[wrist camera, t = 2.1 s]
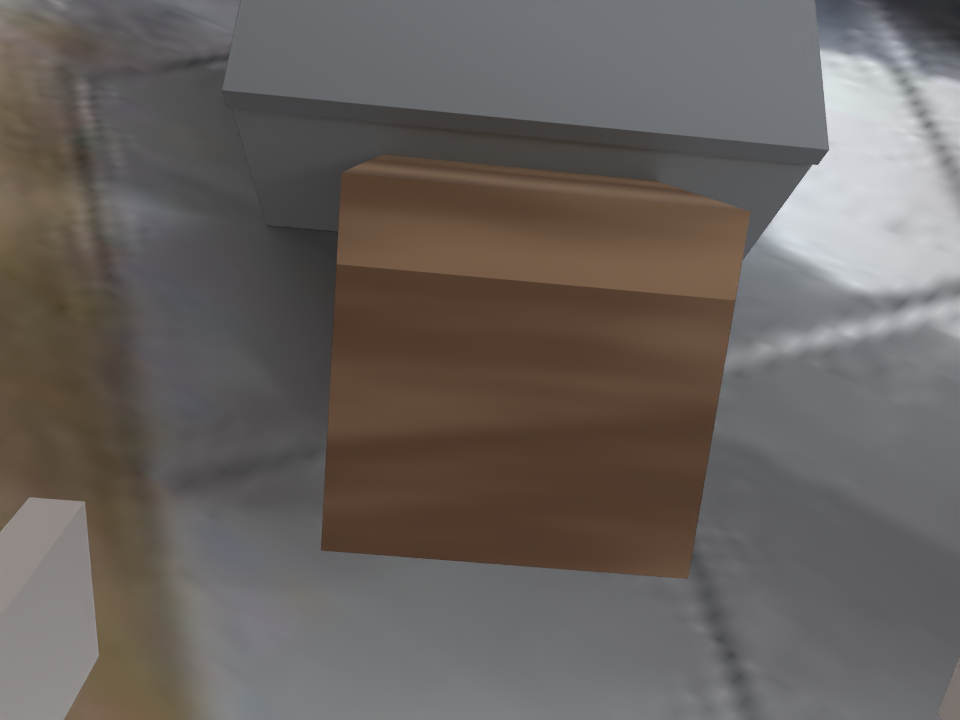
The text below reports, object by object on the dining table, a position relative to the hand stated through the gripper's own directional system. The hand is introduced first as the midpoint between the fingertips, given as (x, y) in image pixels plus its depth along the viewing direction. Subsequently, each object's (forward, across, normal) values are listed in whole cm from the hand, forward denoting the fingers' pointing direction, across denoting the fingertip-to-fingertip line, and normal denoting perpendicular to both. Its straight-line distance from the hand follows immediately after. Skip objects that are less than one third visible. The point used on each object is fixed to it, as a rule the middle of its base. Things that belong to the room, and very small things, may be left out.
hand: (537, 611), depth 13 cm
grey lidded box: (+26, 0, +3) cm, 26 cm away
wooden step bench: (+18, 0, -6) cm, 19 cm away
